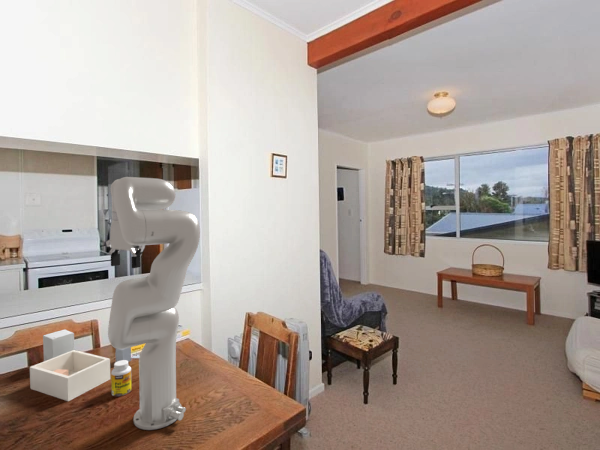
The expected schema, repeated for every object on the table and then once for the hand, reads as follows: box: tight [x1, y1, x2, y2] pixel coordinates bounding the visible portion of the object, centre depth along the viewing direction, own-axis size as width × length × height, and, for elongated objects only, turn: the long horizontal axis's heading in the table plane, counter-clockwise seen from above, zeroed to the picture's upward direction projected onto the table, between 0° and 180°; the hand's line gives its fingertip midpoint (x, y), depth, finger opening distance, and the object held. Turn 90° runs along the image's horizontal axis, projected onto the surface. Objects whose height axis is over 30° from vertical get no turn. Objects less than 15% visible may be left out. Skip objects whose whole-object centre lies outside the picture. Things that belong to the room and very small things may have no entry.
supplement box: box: [42, 329, 75, 362], centre depth 122 cm, size 7×7×13 cm
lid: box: [114, 347, 140, 363], centre depth 125 cm, size 19×15×7 cm
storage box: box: [29, 349, 111, 402], centre depth 109 cm, size 18×14×8 cm
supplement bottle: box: [110, 360, 132, 397], centre depth 105 cm, size 6×6×10 cm
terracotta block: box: [53, 369, 68, 376], centre depth 109 cm, size 4×4×4 cm
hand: (125, 266), depth 116 cm, fingers open, 9 cm apart
